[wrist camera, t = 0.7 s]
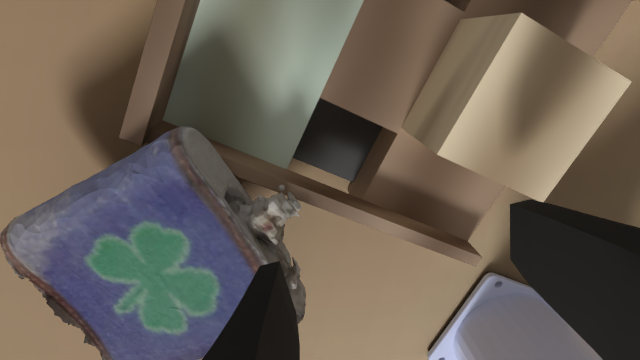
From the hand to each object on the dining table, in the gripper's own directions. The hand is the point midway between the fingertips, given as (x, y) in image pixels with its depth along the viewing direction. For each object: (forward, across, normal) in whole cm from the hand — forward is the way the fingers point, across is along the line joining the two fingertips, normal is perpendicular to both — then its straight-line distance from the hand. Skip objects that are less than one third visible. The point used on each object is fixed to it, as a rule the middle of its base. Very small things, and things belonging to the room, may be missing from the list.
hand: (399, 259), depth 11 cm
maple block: (+7, -6, -2) cm, 9 cm away
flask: (+5, +13, +2) cm, 14 cm away
